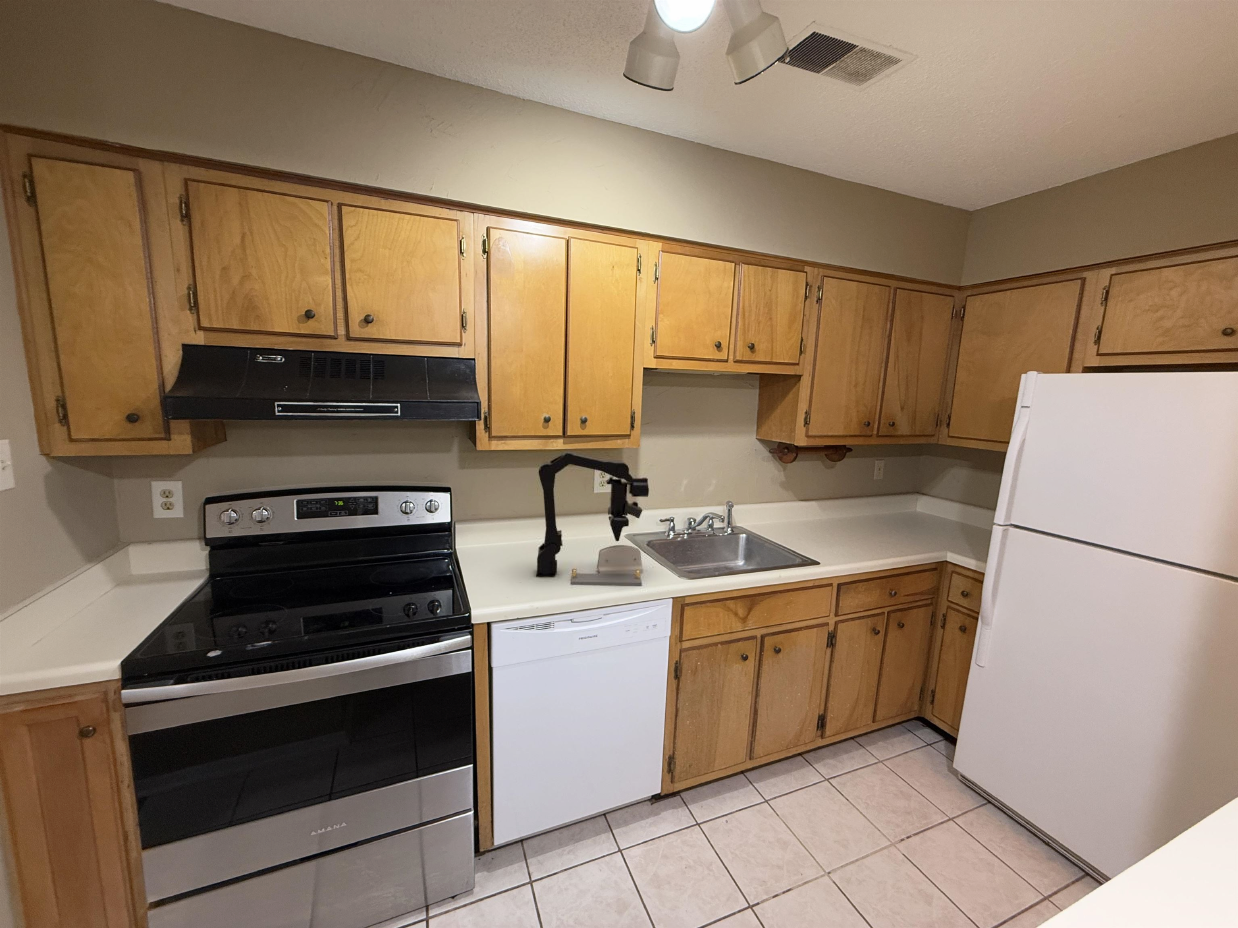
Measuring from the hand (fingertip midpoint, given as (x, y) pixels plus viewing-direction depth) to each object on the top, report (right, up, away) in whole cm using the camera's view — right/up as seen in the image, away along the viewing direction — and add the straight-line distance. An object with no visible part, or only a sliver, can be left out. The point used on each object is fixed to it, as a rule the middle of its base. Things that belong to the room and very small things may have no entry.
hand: (616, 539), depth 179 cm
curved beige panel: (+1, -13, +4) cm, 14 cm away
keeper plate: (-4, -14, -6) cm, 15 cm away
